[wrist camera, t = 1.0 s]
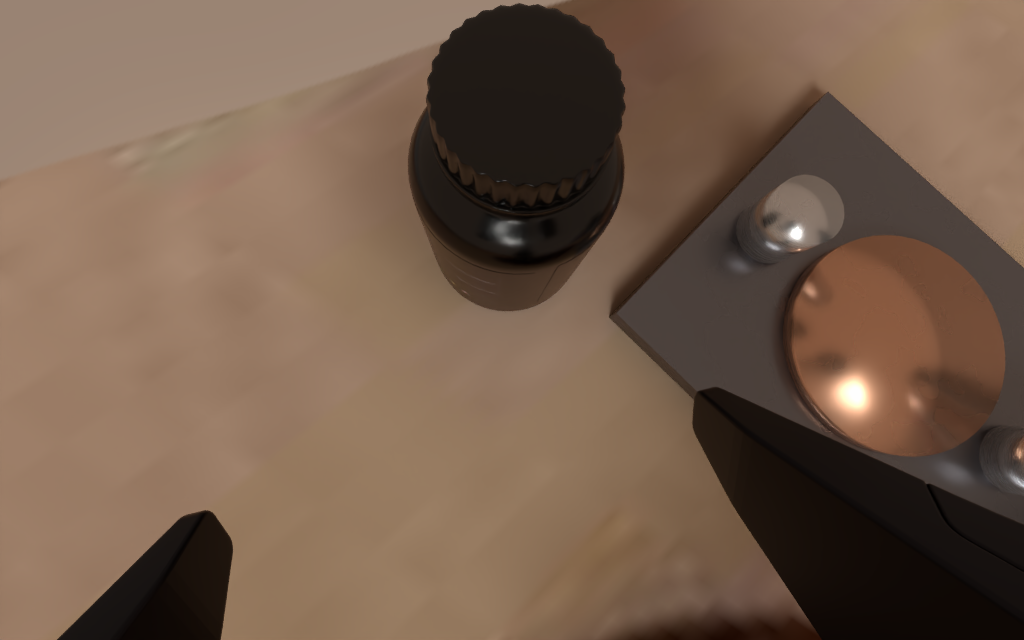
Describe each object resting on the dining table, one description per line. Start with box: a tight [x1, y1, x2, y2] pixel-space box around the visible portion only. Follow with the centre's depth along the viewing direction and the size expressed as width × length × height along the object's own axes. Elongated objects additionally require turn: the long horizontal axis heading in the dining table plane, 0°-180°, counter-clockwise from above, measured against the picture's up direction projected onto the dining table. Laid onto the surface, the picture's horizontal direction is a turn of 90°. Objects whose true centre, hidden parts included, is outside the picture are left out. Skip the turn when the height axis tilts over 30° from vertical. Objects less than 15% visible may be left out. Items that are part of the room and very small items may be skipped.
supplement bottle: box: [408, 3, 625, 311], centre depth 17 cm, size 7×7×12 cm
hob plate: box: [609, 92, 1024, 524], centre depth 21 cm, size 20×16×4 cm
